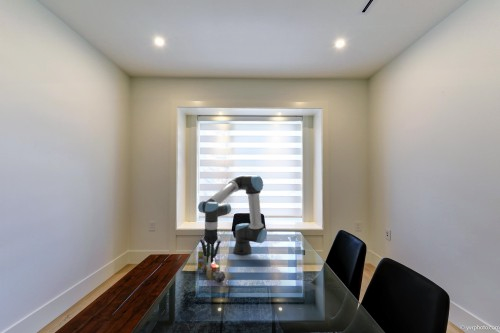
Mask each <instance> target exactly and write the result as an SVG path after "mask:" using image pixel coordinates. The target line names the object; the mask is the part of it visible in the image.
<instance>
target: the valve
mask: <svg viewBox="0 0 500 333" xmlns="http://www.w3.org/2000/svg"><path fill="white" fill-rule="evenodd" d="M220 269H221V267H220V265H218V264H217V263H216V271H212V267H211V268H210V269H208V262H206V263H204V264H203V266H202V269H201V271H202V273H205V274H206V278H208V279H209V280H210V281H215V282H216V283H217V284H222V283H223V282H224V280H225V279H226V273H225V272H224V271H221V270H220Z"/></svg>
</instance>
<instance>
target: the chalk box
mask: <svg viewBox="0 0 500 333" xmlns="http://www.w3.org/2000/svg"><path fill="white" fill-rule="evenodd" d="M205 246H206V251H207V244H205ZM215 249H216V248H214V253H215ZM210 256H211V245H210ZM213 258H216V256H215V257H213ZM206 262H207V257H206V256H204V254H203V249H202V248H201V250H199V251H197V269H199V270H202V266H203V264H204V263H206Z"/></svg>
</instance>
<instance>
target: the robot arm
mask: <svg viewBox="0 0 500 333" xmlns="http://www.w3.org/2000/svg"><path fill="white" fill-rule="evenodd" d="M263 188H264V181H263V178H262V177H261V176H259V175H255V174H253V175H252V174H250V175H249V174H248V175H247V174H240V175H238V176H236V177H234V178H232V179H231V180H230V181H228V183H227V185H225V186H224V187H222V189H220V190H219V191H217V193H215V194H214V195H213V196H211V197H210V198H209V199H207V200H206V201H204V200H203V201H201V202H199V203H198V207H197V209H198V211H199V212H200V213H203V214H204V236H203V237H202V238H201V239H200V240H199V243H200V244H201V250H202V249H203V254H204V256H206V257H207V262H208V269H210V268H211V267H212V263H213V257H215V258H216V256H218V255H217V254H218V251H219V248H220V244H221V243H222V240H221V239H220V238H219V237H218V221H219V217H223V216H228V215H229V214H231V211H232V207H231V204H229V203H228V202H225V200H227V199H228V198H229V197H230V196H231V195H232V194H234V193H237V192H239V191H241V190H242V191H245V194H246V195H247V197H248V198H247V199H248V209H249V210H248V211H249V220H250V223H248V222H247V223H246V222H245V223H243V222H242V223H239V224H236V225H235V243H234V247H233V254H235V255H238V256H248V255H250V254H252V251H253V250H252V247H251V243H250V242H253V243H257V244H263V243H264V242H265V240H266V239H267V236H268V229H266V228H265V226H264V223H262V214H261V203H260V194H261V192H262V190H263ZM215 243H216V245H215ZM205 245H207V247H206V246H205ZM210 246H211V247H210ZM206 248H207V251H206ZM210 249H211V256H210ZM214 249H215V253H214Z"/></svg>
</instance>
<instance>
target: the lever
mask: <svg viewBox="0 0 500 333" xmlns="http://www.w3.org/2000/svg"><path fill="white" fill-rule="evenodd" d="M216 264H217V258H216V257H215V258H213V263H212V271H216Z"/></svg>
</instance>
